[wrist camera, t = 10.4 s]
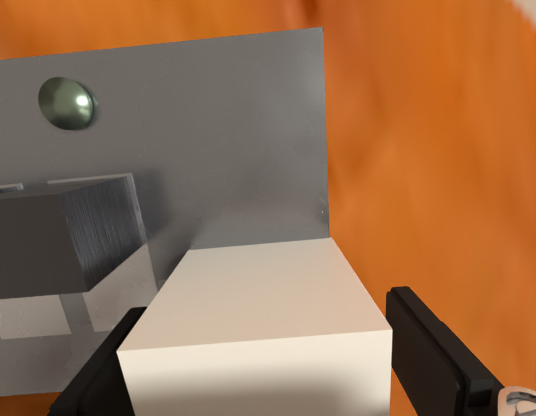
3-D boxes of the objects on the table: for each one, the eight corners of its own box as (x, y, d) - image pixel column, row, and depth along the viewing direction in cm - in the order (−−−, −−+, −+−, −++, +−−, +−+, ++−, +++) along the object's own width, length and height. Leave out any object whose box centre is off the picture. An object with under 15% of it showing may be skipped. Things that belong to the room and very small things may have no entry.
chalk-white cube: (209, 365, 13) (168, 528, 7) (188, 250, 11) (116, 351, 6) (335, 355, 13) (385, 513, 7) (331, 237, 11) (392, 329, 6)
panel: (-98, 373, 15) (-292, 499, 10) (-251, 104, 11) (-702, 73, 6) (325, 340, 15) (357, 453, 9) (313, 46, 11) (356, -42, 6)
